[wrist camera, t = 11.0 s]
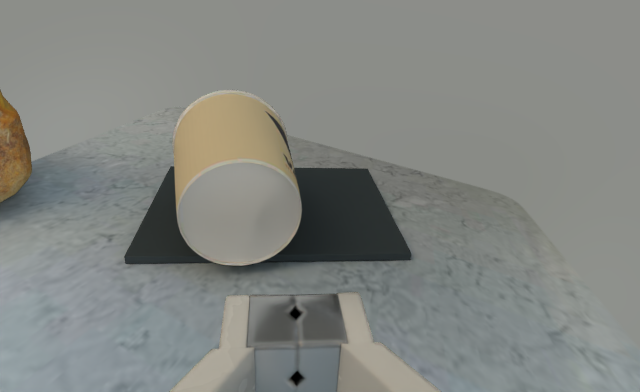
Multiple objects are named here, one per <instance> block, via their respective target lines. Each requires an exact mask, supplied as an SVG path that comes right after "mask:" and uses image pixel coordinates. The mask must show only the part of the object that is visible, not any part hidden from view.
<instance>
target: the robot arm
mask: <svg viewBox="0 0 640 392" xmlns="http://www.w3.org/2000/svg"><path fill="white" fill-rule="evenodd" d="M169 392H441V391H440V390H439V389H438V388H436V387H435V386H434V385H433V384H431V383H430V382H429V381H428V380H427V379H425V378H424V377H423V376H422V375H420V374H419V373H418V372H417V371H415V370H414V369H413V368H412V367H411V366H409V365H408V364H407V363H406V362H404V361H403V360H402V359H401V358H399V357H398V356H397V355H396V354H395V353H393V352H392V351H391V350H390V349H388V348H387V347H386V346H385V345H383V344H382V343H381V342H378V343H374V339H373V336H372V333H371V329H370V326H369V322H368V319H367V316H366V312H365V309H364V305H363V302H362V299H361V295H360V294H359V293H358V292H346V293H337V294H308V295H250V296H249V295H228V296H227V298H226V300H225V307H224V315H223V322H222V329H221V337H220V344H219V349H211V350H210V351H209V352H208V353H207V354H206V355H205V356H204V357H203V358H202V359H201V360H200V361H199V362H198V363H197V364H196V365H195V366H194V367H193V368H192V369H191V370H190V371H189V372H188V373H187V374H186V375H185V376H184V377H183V378H182V379H181V380H180V381H179V382H178V383H177V384H176V385H175V386H174V387H173V388H172V389H171V390H170V391H169Z"/></svg>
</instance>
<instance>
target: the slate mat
mask: <svg viewBox="0 0 640 392" xmlns="http://www.w3.org/2000/svg"><path fill="white" fill-rule="evenodd" d="M294 170H295V175H296V179H297V183H298V188H299V192H300V198H301V204H302V214H301V220H300V224H299V227H298V230H297V232H296V234H295V235H294V237H293V238H292V240H291V241H290V243H289V244H288V245H287V246H286V247H285V248H284V249H282V250H281V251H280V252H278V253H277V254H276V255H274V256H272V257H271V258H269V259H266V260H264V261H261V262H284V261H359V260H410V258H411V252H410V250H409V248H408V246H407V244H406V242H405V240H404V238H403V237H402V235H401V233H400V231H399V229H398V227H397V225H396V223H395V221H394V219H393V217H392V215H391V213H390V211H389V210H388V208H387V206H386V204H385V202H384V200H383V198H382V196H381V194H380V192H379V190H378V188H377V186H376V184H375V183H374V181H373V179H372V177H371V175H370V173H369V171H368V169H345V168H294ZM124 258H125V263H126V264H133V263H208V262H212V261H209V260H207V259H205V258H203V257H202V256H200V255H198V254H197V253H196V252H194V251H193V250H192V249H191V248H190V247H189V246H188V244H187V243H186V241H185V240H184V238H183V236H182V235H181V232H180V229H179V226H178V221H177V212H176V195H175V170H174V166H171V167H170V169H169V171H168V173H167V175H166V177H165V179H164V181H163V183H162V185H161V186H160V188H159V190H158V192H157V194H156V196H155V198H154V200H153V202H152V204H151V206H150V208H149V210H148V212H147V214H146V216H145V218H144V220H143V222H142V223H141V225H140V227H139V229H138V231H137V233H136V235H135V237H134V239H133V241H132V243H131V245H130V247H129V249H128V251H127V253H126V255H125V257H124Z"/></svg>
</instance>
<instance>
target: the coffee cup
mask: <svg viewBox="0 0 640 392" xmlns="http://www.w3.org/2000/svg"><path fill="white" fill-rule="evenodd" d="M172 144H173V153H174V170H175V195H176V212H177V221H178V226H179V229H180V232H181V235H182V236H183V238H184V240H185V241H186V243H187V244H188V246H189V247H190V248H191V249H192V250H193V251H194V252H196V253H197V254H198V255H200V256H202V257H203V258H205V259H207V260H209V261H212V262H215V263H218V264H222V265H230V266H242V265H250V264H254V263H259V262H261V261H264V260H266V259H269V258H271V257H272V256H274V255H276V254H277V253H278V252H280V251H281V250H282V249H284V248H285V247H286V246H287V245H288V244H289V243H290V241H291V240H292V238H293V237H294V235H295V234H296V232H297V230H298V227H299V224H300V220H301V214H302V204H301V198H300V192H299V188H298V183H297V179H296V175H295V170H294V166H293V162H292V158H291V154H290V150H289V146H288V140H287V133H286V129H285V126H284V124H283V121H282V120H281V118H280V116H279V115H278V113H277V112H276V111H275V110H274V109H273V107H271V106H270V105H269V104H268V103H267V102H265V101H264V100H262V99H261V98H259V97H257V96H255V95H253V94H250V93H247V92H243V91H237V90H222V91H216V92H212V93H209V94H206V95H204V96H202V97H200V98H198V99H197V100H195V101H194V102H193V103H191V104H190V105H189V106H188V107H187V108H186V109H185V110H184V112H183V113H182V114H181V116H180V117H179V119H178V121H177V123H176V126H175V129H174V133H173V140H172Z"/></svg>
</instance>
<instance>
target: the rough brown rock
mask: <svg viewBox="0 0 640 392" xmlns="http://www.w3.org/2000/svg"><path fill="white" fill-rule="evenodd" d="M31 173H32V164H31V153H30V147H29V144H28V141H27V138H26V136H25V133H24V130H23V126H22V123H21V120H20V116H19V114H18V113H17V111H16V110H15V109H14V108H13V107H12V106H11V105H10V103H8V101H7V100H6V99H5V98H4V97H3V95H2V93H1V91H0V203H1V202H2V201H4V200H6V199H7V198H9V197H11V196H13V195H15V194H16V193H17V192H18V191H19V189H20V188H21V187H22V186H23V185H24V184H25V182H26V181H27V180H28V178H29V177H30V175H31Z"/></svg>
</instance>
